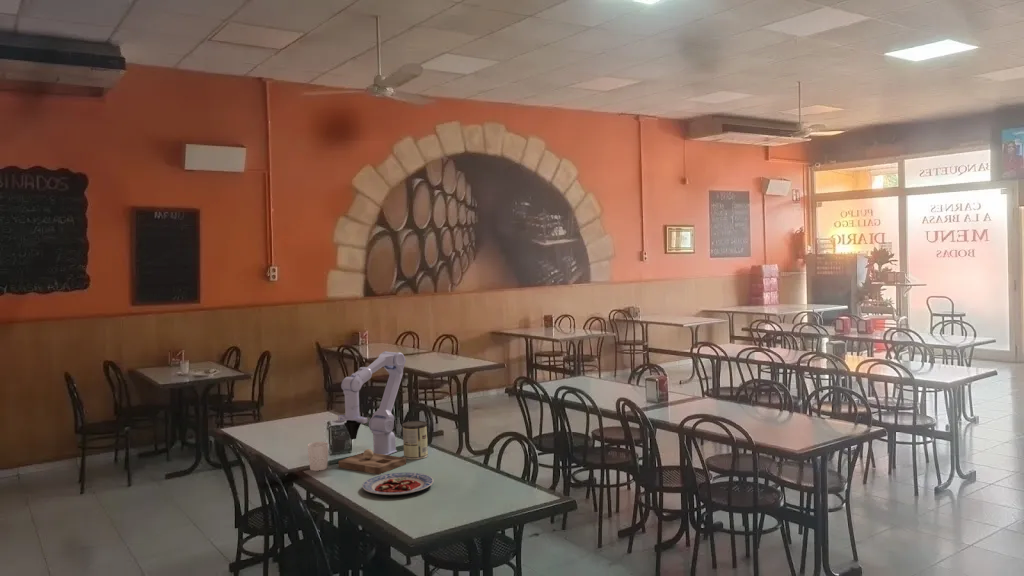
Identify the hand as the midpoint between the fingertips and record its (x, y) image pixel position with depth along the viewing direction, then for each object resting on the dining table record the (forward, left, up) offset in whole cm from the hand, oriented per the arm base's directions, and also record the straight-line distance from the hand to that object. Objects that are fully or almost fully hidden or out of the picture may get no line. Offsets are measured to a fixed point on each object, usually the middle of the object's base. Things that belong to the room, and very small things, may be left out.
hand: (353, 438), depth 312 cm
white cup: (+13, -7, -10) cm, 18 cm away
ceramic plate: (+18, +39, -10) cm, 44 cm away
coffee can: (-19, +17, -10) cm, 27 cm away
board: (0, +10, -10) cm, 14 cm away
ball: (0, +8, -5) cm, 10 cm away
